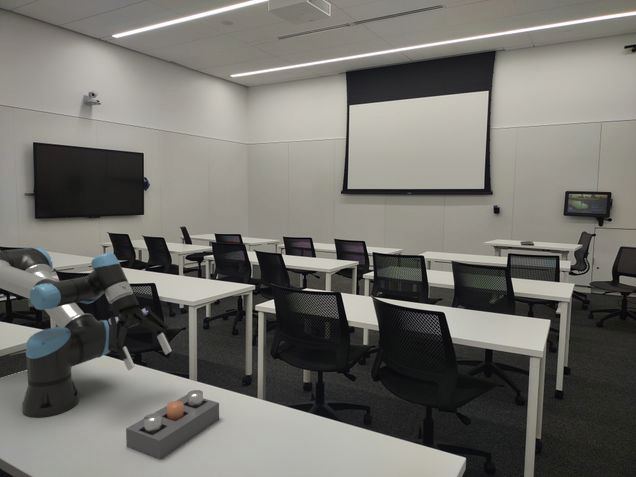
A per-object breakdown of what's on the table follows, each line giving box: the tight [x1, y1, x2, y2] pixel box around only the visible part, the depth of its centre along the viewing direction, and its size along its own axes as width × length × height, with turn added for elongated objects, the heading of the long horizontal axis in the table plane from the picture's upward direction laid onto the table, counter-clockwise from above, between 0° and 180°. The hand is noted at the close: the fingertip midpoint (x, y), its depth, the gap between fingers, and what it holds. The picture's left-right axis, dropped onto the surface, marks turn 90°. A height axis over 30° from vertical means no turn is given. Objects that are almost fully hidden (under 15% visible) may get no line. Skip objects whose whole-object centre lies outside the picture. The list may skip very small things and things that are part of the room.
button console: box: [125, 394, 220, 460], centre depth 125 cm, size 12×23×5 cm, turn 153°
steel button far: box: [186, 389, 204, 409], centre depth 132 cm, size 4×4×4 cm
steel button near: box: [143, 412, 162, 435], centre depth 117 cm, size 4×4×4 cm
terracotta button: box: [166, 400, 184, 421], centre depth 124 cm, size 4×4×4 cm
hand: (150, 360), depth 136 cm, fingers open, 13 cm apart
